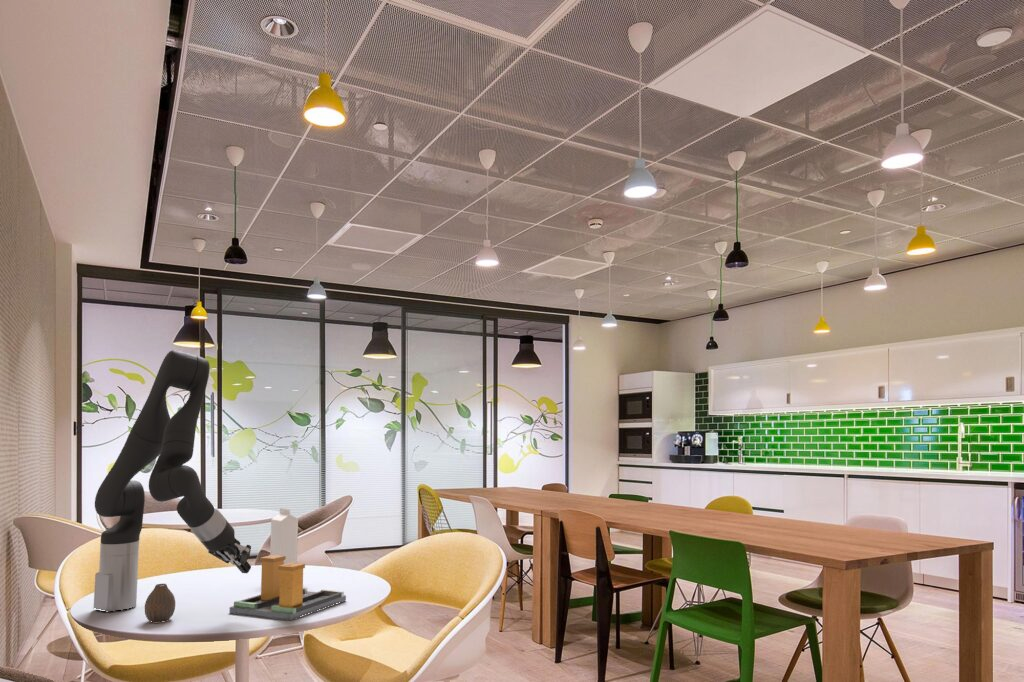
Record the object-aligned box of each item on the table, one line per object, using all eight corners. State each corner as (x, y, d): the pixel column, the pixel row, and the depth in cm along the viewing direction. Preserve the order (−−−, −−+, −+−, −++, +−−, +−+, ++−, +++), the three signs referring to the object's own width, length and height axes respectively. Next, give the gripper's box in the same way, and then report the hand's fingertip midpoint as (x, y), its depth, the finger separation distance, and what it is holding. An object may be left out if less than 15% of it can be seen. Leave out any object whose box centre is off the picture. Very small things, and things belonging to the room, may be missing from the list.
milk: (279, 584, 224) (280, 510, 226) (269, 581, 228) (270, 509, 231) (297, 580, 229) (298, 508, 231) (286, 578, 233) (288, 507, 235)
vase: (179, 617, 186) (180, 581, 187) (167, 624, 180) (169, 587, 180) (151, 617, 186) (153, 581, 187) (138, 624, 179) (140, 587, 180)
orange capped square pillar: (272, 601, 195) (273, 558, 196) (259, 599, 197) (260, 557, 198) (284, 597, 199) (285, 555, 201) (271, 596, 201) (272, 554, 202)
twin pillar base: (290, 620, 181) (291, 568, 183) (229, 613, 190) (231, 563, 191) (345, 601, 201) (346, 554, 203) (288, 594, 210) (289, 549, 211)
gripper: (240, 516, 181) (274, 559, 190) (200, 515, 186) (235, 556, 196) (223, 541, 175) (259, 584, 185) (182, 539, 180) (219, 581, 190)
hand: (247, 570), depth 190 cm, fingers closed
